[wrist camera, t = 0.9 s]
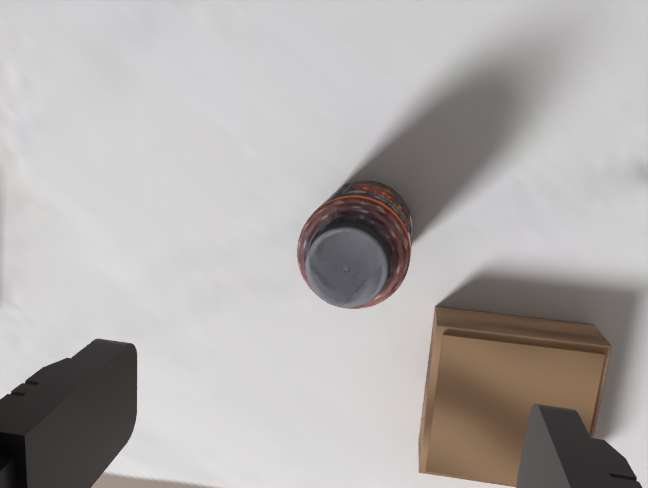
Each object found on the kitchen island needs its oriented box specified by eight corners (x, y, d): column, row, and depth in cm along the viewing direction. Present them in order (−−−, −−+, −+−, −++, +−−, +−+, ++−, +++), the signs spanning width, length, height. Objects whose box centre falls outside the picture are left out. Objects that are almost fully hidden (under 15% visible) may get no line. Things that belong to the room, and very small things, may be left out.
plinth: (435, 306, 40) (437, 327, 36) (593, 324, 38) (613, 349, 35) (418, 442, 42) (418, 476, 38) (567, 463, 41) (583, 500, 37)
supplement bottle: (427, 200, 38) (433, 238, 27) (390, 282, 40) (381, 349, 29) (341, 164, 39) (312, 186, 28) (307, 247, 40) (267, 299, 29)
